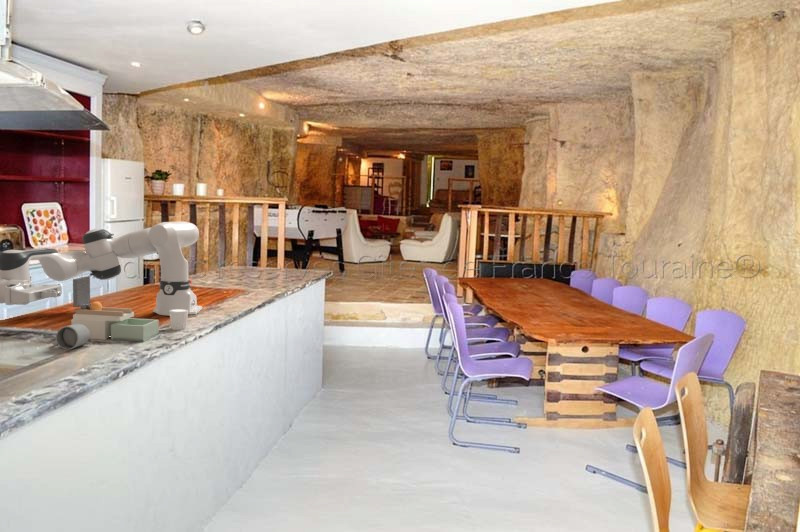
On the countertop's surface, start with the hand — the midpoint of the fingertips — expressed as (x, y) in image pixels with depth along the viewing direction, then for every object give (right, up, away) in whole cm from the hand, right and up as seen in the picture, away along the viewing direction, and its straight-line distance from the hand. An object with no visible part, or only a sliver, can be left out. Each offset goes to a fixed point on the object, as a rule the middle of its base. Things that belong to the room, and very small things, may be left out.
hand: (58, 294), depth 230 cm
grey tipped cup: (+13, -17, -17) cm, 27 cm away
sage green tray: (+28, -15, 0) cm, 32 cm away
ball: (+14, -5, 0) cm, 14 cm away
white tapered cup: (+37, -14, +17) cm, 43 cm away
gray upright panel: (+10, -6, 0) cm, 12 cm away
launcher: (+16, -15, 0) cm, 22 cm away
